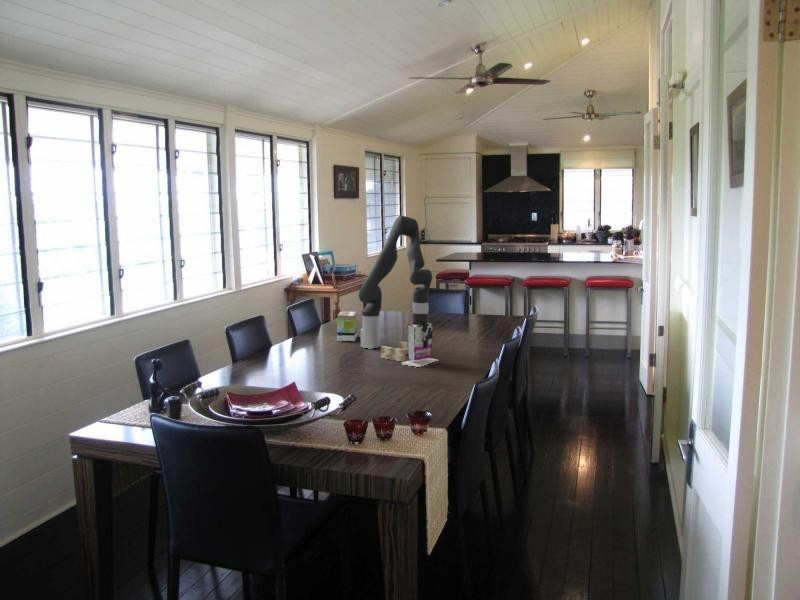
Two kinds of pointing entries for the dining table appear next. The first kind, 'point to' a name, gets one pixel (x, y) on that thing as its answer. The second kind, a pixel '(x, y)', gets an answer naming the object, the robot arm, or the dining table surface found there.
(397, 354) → the dispenser rack
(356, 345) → the dining table surface
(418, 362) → the white panel
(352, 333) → the tea box
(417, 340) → the candy bar box
